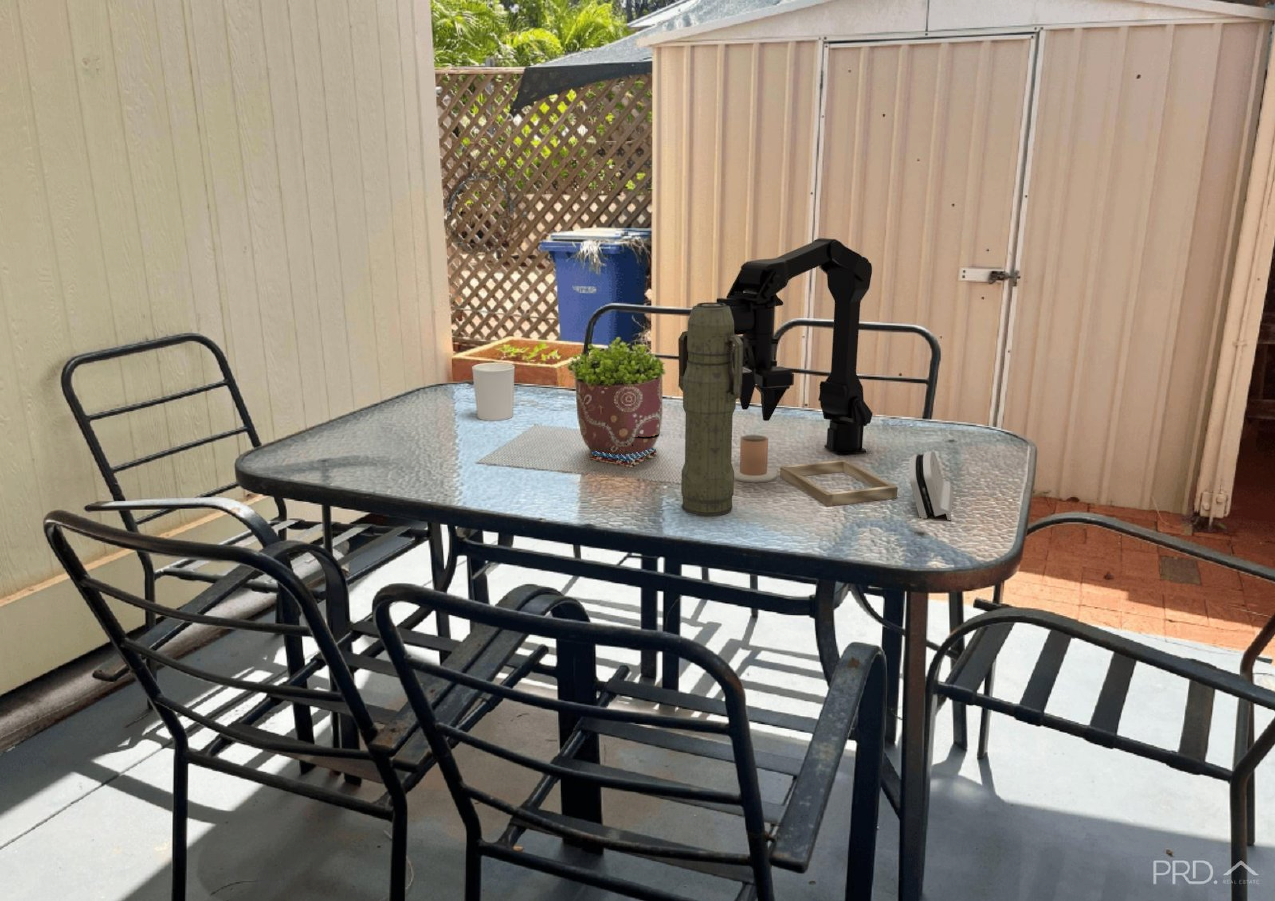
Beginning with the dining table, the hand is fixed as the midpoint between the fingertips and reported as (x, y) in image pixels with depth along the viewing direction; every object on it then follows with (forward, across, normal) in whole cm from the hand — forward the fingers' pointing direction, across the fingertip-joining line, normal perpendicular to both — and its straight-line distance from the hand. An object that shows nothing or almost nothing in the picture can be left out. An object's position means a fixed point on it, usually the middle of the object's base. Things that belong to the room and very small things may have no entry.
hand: (755, 414), depth 186 cm
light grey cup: (+12, -62, -38) cm, 73 cm away
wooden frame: (+12, +11, +12) cm, 20 cm away
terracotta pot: (+11, 0, 0) cm, 11 cm away
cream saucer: (+12, 0, 0) cm, 12 cm away
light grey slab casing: (+12, +25, +22) cm, 35 cm away
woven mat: (+13, -20, -20) cm, 31 cm away
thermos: (+12, +14, -16) cm, 24 cm away
